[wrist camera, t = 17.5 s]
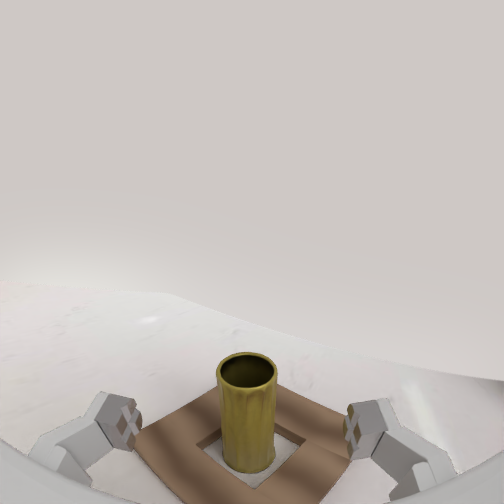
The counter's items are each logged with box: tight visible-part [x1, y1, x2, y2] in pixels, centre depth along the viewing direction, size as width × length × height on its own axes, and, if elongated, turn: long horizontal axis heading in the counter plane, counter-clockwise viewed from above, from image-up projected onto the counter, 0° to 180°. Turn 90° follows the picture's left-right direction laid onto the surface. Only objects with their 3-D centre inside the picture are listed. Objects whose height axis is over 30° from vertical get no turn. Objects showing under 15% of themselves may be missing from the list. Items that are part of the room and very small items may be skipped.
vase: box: [216, 352, 278, 473], centre depth 24 cm, size 6×6×14 cm
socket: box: [133, 384, 352, 504], centre depth 26 cm, size 21×21×2 cm
